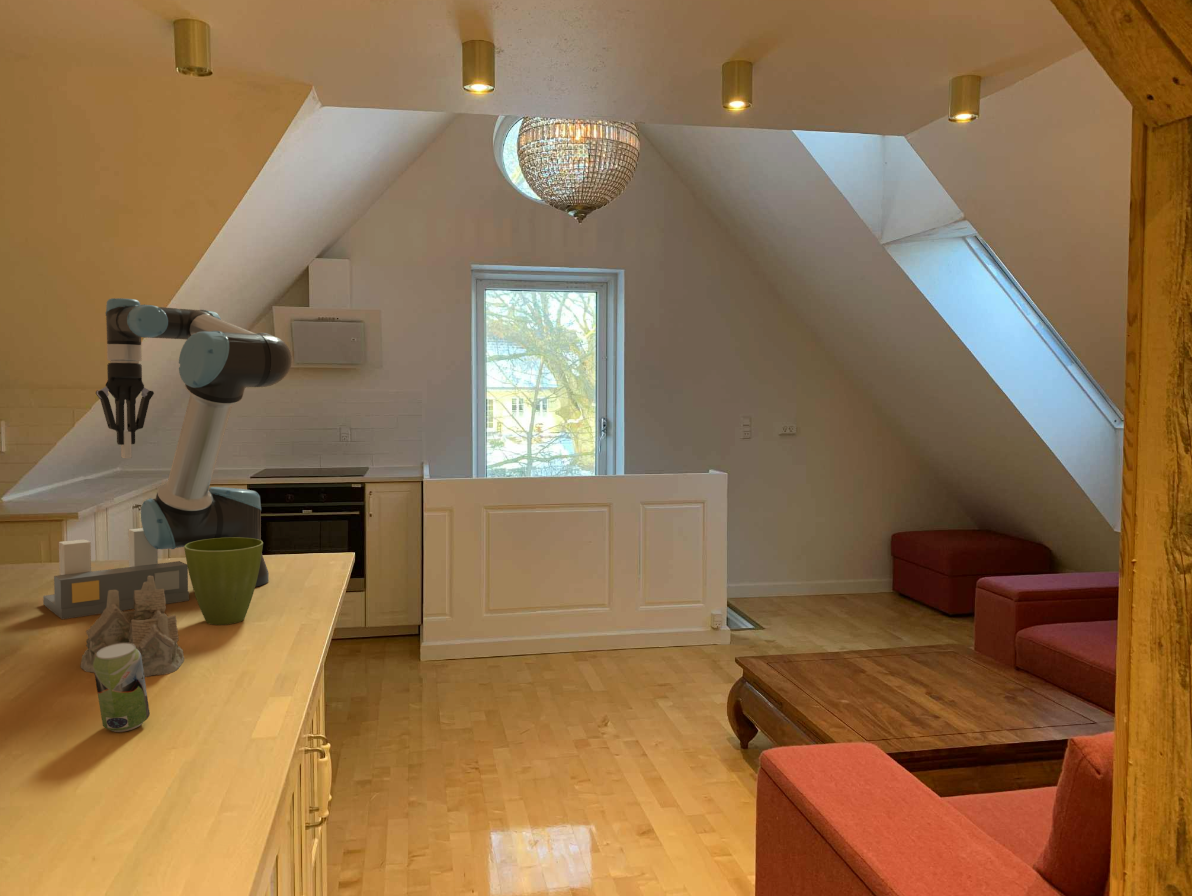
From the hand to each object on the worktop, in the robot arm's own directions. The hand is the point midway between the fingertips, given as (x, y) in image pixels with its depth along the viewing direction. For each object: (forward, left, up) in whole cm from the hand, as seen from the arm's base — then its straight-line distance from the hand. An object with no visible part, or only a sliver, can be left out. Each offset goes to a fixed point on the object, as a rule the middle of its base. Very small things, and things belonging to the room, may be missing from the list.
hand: (126, 457), depth 223 cm
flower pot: (-44, +36, -30) cm, 64 cm away
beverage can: (-58, +92, -30) cm, 113 cm away
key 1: (-9, +33, -27) cm, 43 cm away
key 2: (-14, +15, -27) cm, 34 cm away
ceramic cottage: (-43, +66, -30) cm, 84 cm away
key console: (-14, +26, -29) cm, 42 cm away
